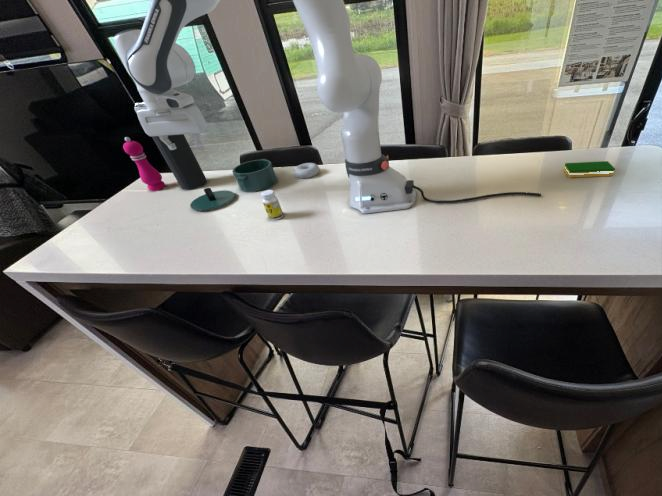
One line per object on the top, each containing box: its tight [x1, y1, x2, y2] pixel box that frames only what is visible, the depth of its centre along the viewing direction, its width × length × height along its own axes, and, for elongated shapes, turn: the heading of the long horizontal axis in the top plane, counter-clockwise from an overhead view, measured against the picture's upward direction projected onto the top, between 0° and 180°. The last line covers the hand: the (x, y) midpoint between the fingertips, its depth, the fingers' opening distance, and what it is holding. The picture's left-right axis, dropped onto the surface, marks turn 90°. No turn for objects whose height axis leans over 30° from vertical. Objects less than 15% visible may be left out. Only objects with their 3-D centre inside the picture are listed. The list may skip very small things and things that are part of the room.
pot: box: [231, 158, 278, 193], centre depth 125 cm, size 14×20×7 cm
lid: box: [189, 187, 236, 212], centre depth 117 cm, size 15×15×5 cm
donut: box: [294, 162, 320, 179], centre depth 129 cm, size 10×4×10 cm
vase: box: [133, 101, 208, 191], centre depth 123 cm, size 10×10×30 cm
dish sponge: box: [563, 160, 616, 178], centre depth 108 cm, size 7×14×2 cm, turn 84°
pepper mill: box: [122, 136, 167, 192], centre depth 127 cm, size 7×7×20 cm
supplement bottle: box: [260, 189, 284, 221], centre depth 102 cm, size 5×5×8 cm
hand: (186, 148), depth 105 cm, fingers open, 8 cm apart
